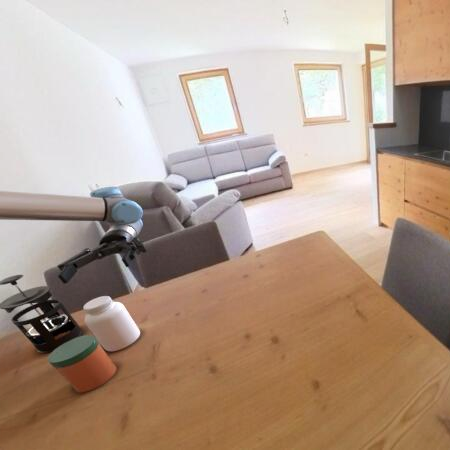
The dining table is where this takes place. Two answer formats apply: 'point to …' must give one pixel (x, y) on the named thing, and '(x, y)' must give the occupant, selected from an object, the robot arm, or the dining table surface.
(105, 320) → the pill bottle
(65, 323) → the french press
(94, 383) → the jar
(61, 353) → the jar lid
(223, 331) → the dining table surface
